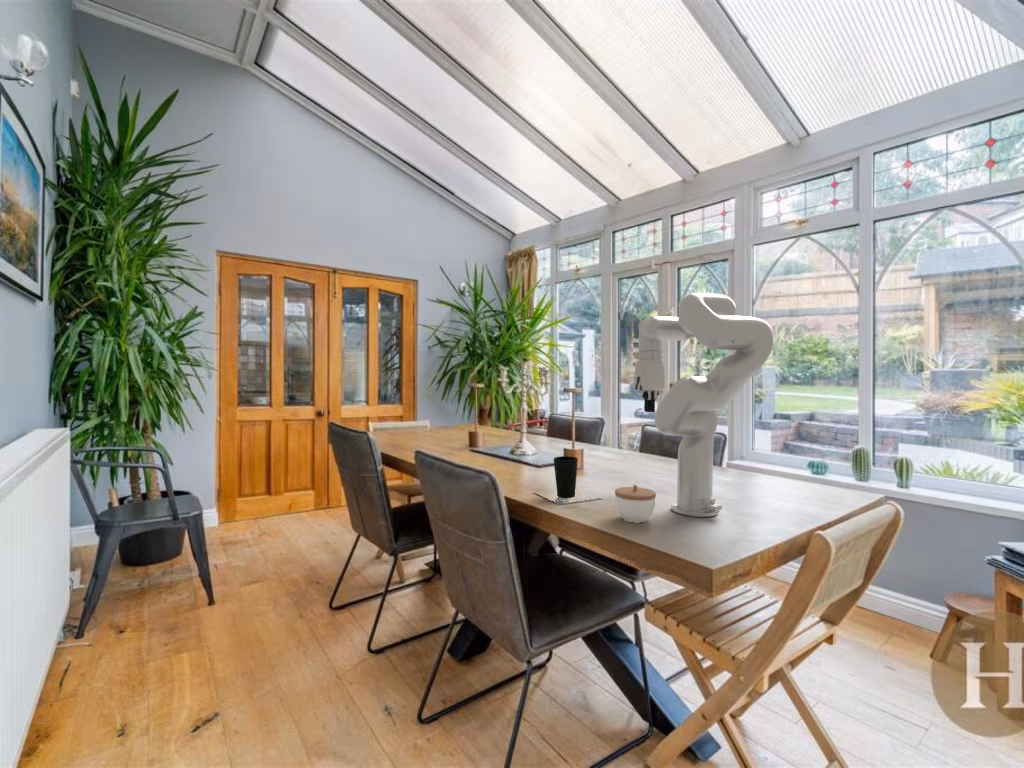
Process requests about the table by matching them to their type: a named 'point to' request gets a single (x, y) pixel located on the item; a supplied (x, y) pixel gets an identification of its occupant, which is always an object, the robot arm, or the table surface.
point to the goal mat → (561, 500)
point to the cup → (565, 475)
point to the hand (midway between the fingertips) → (649, 411)
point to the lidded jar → (635, 503)
